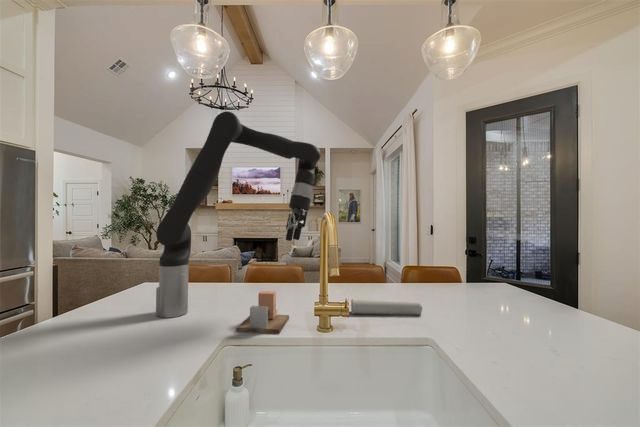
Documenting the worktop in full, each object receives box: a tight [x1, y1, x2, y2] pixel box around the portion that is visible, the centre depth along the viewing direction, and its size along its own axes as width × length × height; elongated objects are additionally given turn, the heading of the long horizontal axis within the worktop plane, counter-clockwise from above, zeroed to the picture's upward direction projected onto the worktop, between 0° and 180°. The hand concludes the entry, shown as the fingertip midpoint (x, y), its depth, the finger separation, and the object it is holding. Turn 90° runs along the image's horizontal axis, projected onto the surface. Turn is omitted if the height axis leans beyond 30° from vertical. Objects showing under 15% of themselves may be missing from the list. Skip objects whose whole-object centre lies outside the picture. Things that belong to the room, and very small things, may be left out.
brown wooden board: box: [236, 314, 290, 334], centre depth 93 cm, size 13×13×1 cm
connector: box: [249, 305, 268, 329], centre depth 88 cm, size 5×3×6 cm, turn 84°
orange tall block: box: [257, 290, 277, 319], centre depth 96 cm, size 5×3×8 cm, turn 84°
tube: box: [350, 298, 423, 316], centre depth 105 cm, size 5×5×25 cm
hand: (292, 240), depth 105 cm, fingers open, 8 cm apart
